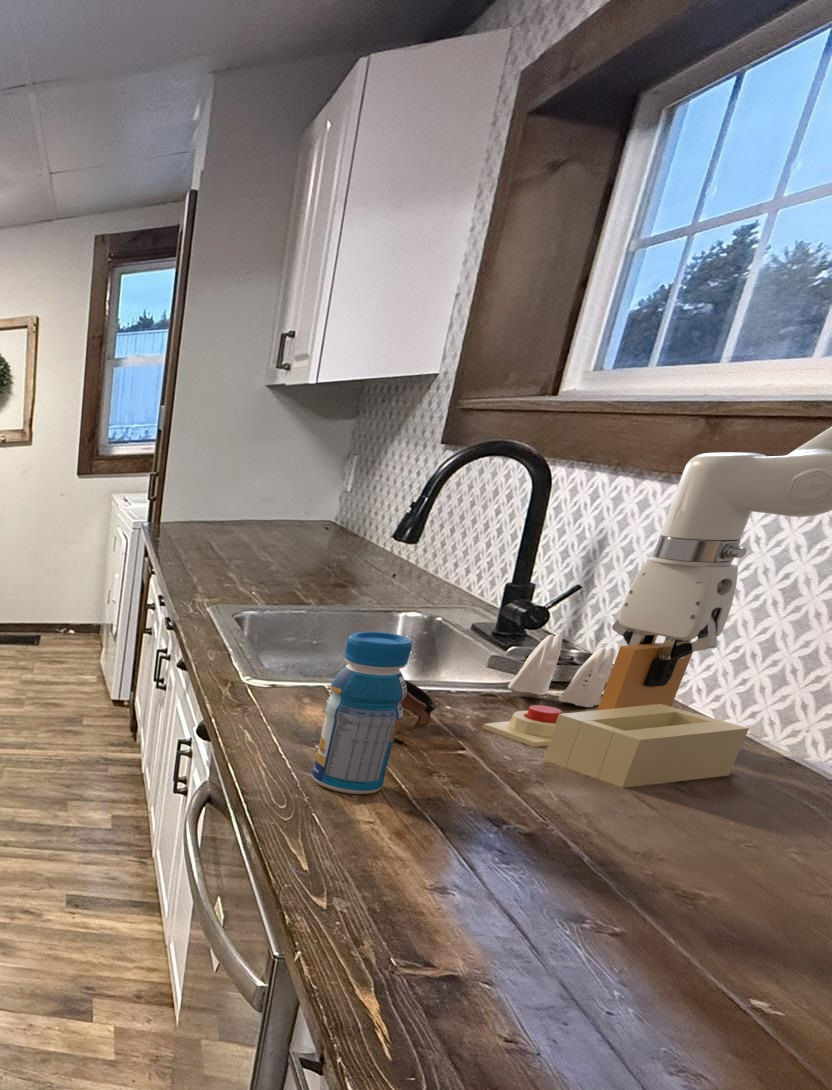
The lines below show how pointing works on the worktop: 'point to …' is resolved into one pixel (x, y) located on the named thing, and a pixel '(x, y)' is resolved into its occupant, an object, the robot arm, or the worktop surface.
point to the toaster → (644, 745)
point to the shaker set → (581, 688)
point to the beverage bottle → (363, 714)
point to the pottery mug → (418, 704)
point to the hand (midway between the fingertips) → (644, 681)
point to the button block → (523, 729)
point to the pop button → (543, 713)
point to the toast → (639, 679)
